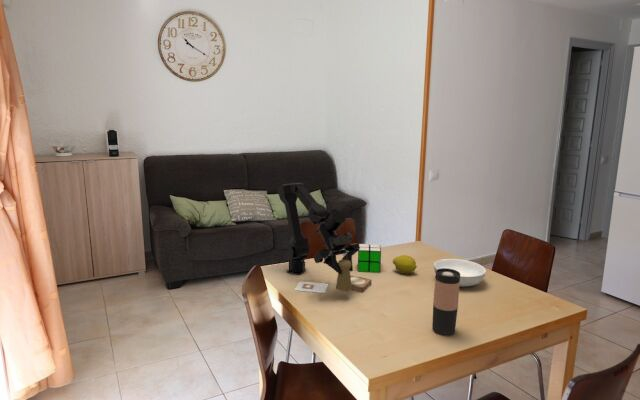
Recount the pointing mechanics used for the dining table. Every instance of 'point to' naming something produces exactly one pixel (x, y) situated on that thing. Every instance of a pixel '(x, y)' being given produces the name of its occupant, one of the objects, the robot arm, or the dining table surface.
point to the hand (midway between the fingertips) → (346, 272)
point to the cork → (344, 276)
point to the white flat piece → (311, 287)
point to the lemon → (405, 264)
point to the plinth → (359, 283)
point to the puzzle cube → (369, 258)
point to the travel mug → (445, 301)
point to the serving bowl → (463, 270)
